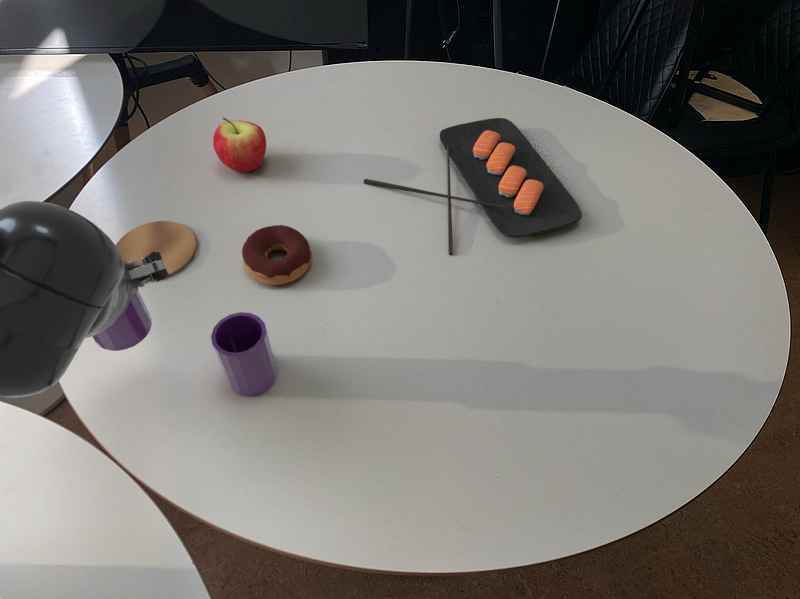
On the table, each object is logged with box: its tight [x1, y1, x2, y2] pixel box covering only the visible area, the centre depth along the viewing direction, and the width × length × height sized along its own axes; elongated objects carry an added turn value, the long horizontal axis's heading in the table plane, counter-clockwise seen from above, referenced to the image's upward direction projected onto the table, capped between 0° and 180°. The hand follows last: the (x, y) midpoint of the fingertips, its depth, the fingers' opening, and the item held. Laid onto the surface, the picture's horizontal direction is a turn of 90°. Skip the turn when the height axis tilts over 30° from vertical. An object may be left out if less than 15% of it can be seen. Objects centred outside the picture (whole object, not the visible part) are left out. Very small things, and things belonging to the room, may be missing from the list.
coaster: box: [115, 220, 198, 282], centre depth 89 cm, size 12×12×1 cm
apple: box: [212, 116, 267, 173], centre depth 98 cm, size 8×8×10 cm
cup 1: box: [91, 290, 153, 352], centre depth 64 cm, size 6×6×9 cm
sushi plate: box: [363, 117, 583, 256], centre depth 98 cm, size 29×30×4 cm
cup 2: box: [210, 311, 278, 397], centre depth 73 cm, size 6×6×9 cm
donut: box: [241, 224, 313, 286], centre depth 87 cm, size 10×10×4 cm
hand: (102, 287), depth 64 cm, fingers closed on cup 1, 6 cm apart
